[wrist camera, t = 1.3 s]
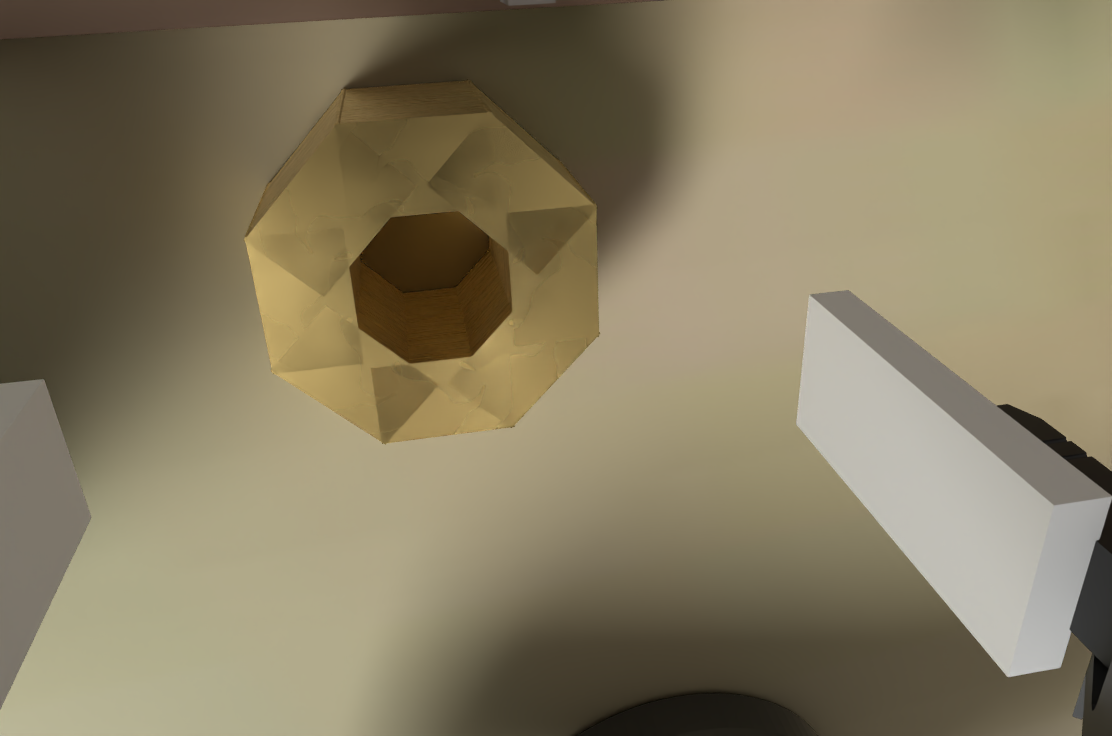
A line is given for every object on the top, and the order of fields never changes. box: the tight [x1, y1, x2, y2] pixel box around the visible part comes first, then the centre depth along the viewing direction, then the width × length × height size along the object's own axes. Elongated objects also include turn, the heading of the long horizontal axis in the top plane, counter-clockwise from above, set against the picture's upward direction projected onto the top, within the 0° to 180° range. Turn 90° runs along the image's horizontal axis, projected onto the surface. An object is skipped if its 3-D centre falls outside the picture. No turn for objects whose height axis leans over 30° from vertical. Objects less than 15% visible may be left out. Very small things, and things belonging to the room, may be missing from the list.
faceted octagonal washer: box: [244, 79, 600, 444], centre depth 24 cm, size 8×8×5 cm
